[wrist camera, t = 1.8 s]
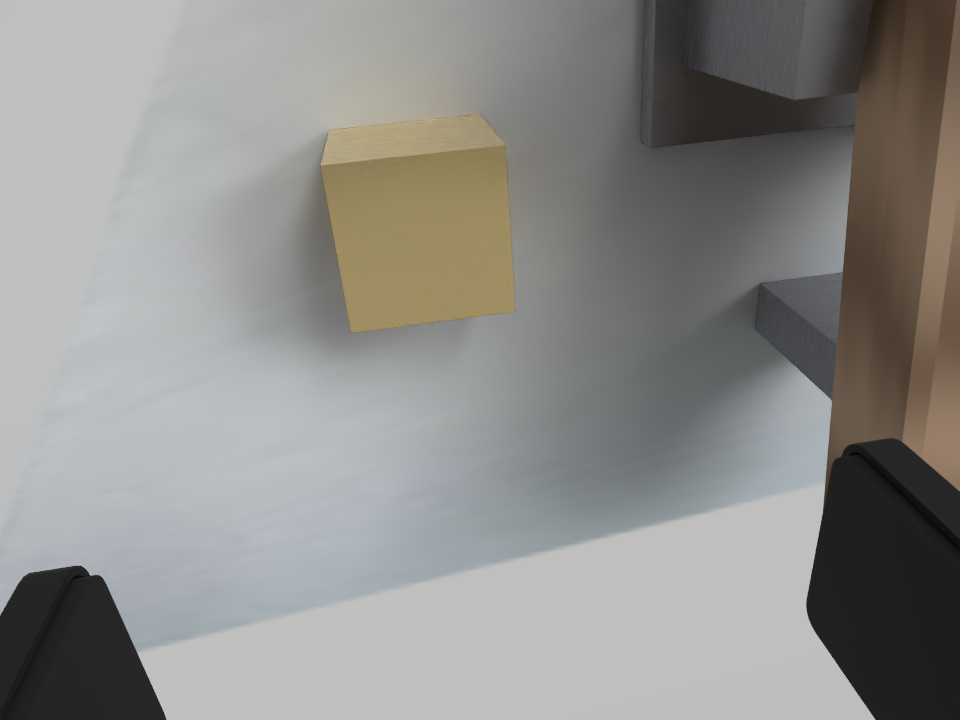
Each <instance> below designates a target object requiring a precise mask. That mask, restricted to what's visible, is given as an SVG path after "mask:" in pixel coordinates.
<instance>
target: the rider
mask: <svg viewBox="0 0 960 720" xmlns="http://www.w3.org/2000/svg"><path fill="white" fill-rule="evenodd" d="M320 166H321V172H322V177H323V183H324V188H325V194H326V199H327V204H328V210H329V215H330V221H331V226H332V232H333V237H334V243H335V248H336V253H337V259H338V264H339V270H340V275H341V281H342V286H343V292H344V297H345V303H346V308H347V313H348V319H349V324H350V330H351V333H355V332H363V331H371V330H379V329H386V328H394V327H402V326H409V325H417V324H425V323H432V322H440V321H448V320H455V319H463V318H471V317H478V316H486V315H494V314H502V313H509V312H516V311H515V295H514V278H513V262H512V245H511V229H510V212H509V196H508V179H507V162H506V146H505V144H504V143H503V141H502V140H501V139H500V138H499V136H498V135H497V134H496V132H495V131H494V130H493V129H492V127H491V126H490V125H489V124H488V122H487V121H486V120H485V119H484V117H483V116H482V115H481V114H475V115H466V116H456V117H447V118H438V119H428V120H419V121H410V122H400V123H391V124H382V125H372V126H363V127H354V128H344V129H335V130H329V132H328V136H327V140H326V144H325V148H324V153H323V157H322V161H321V165H320Z"/></svg>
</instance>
